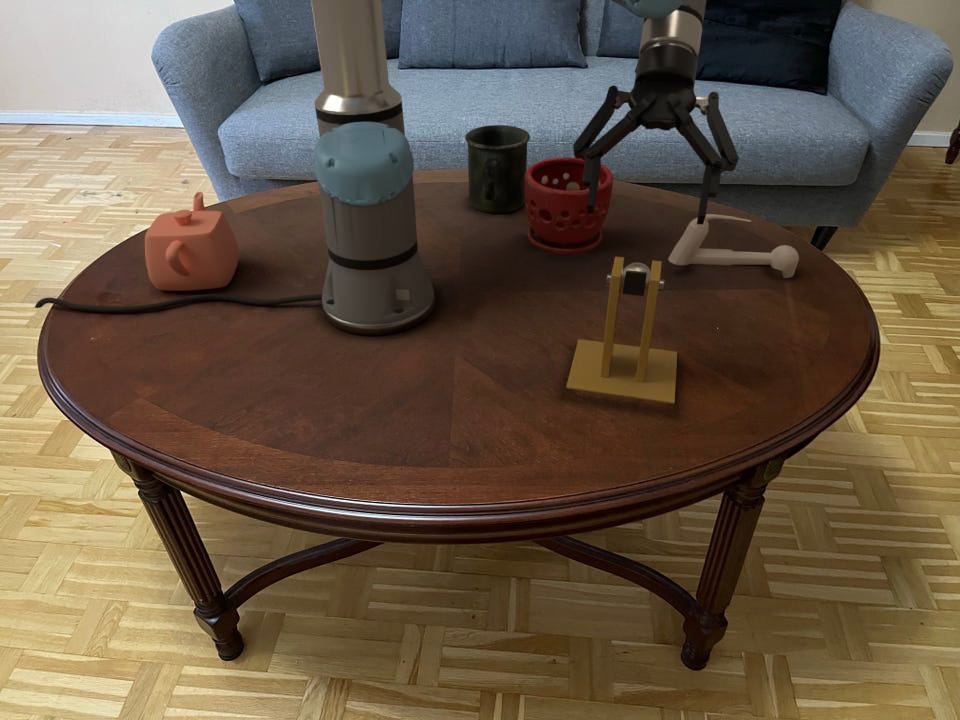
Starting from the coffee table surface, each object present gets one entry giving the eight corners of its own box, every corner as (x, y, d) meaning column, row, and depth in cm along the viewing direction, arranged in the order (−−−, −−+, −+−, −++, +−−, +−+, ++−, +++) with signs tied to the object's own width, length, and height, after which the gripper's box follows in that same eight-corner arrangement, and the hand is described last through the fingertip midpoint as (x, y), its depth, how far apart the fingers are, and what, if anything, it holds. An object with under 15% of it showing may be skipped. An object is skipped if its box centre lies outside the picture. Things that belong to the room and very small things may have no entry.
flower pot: (506, 240, 114) (507, 168, 107) (570, 220, 120) (575, 150, 113) (557, 273, 106) (562, 196, 99) (623, 249, 111) (632, 175, 104)
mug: (531, 192, 130) (534, 126, 123) (520, 226, 119) (522, 155, 112) (473, 188, 132) (472, 123, 125) (456, 222, 120) (454, 152, 113)
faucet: (778, 306, 106) (817, 250, 100) (669, 266, 104) (702, 207, 99) (772, 292, 109) (810, 237, 103) (666, 253, 108) (698, 196, 102)
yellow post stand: (577, 348, 90) (586, 241, 81) (675, 361, 87) (695, 252, 79) (565, 397, 82) (573, 284, 73) (672, 413, 79) (694, 298, 71)
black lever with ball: (620, 289, 89) (624, 260, 88) (649, 292, 88) (653, 263, 88) (615, 298, 76) (619, 264, 76) (649, 302, 76) (654, 268, 75)
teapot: (142, 308, 99) (119, 240, 93) (178, 249, 113) (160, 186, 107) (226, 305, 99) (209, 236, 93) (251, 246, 114) (237, 183, 108)
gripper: (763, 80, 93) (744, 235, 90) (573, 70, 98) (548, 216, 95) (776, 46, 86) (755, 213, 83) (569, 36, 91) (543, 193, 88)
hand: (644, 215), depth 89 cm, fingers open, 13 cm apart
